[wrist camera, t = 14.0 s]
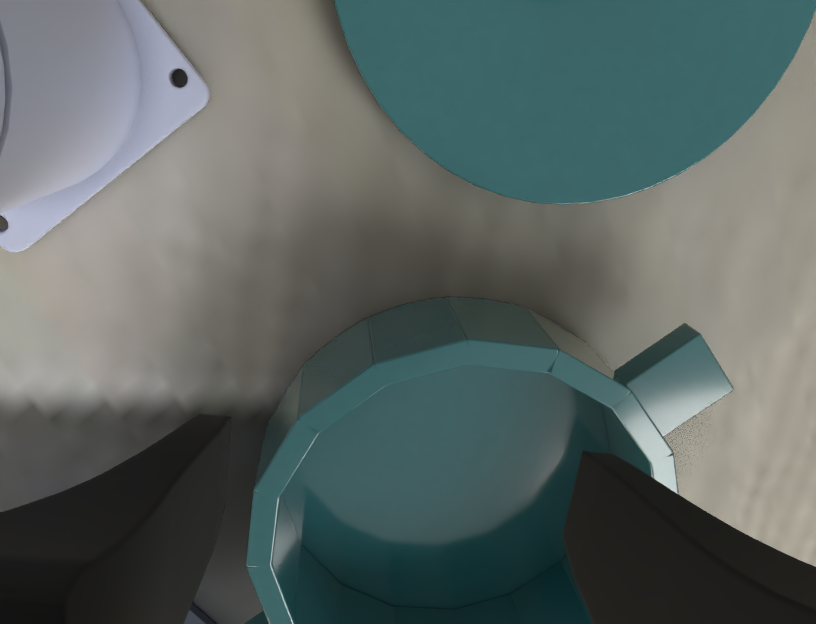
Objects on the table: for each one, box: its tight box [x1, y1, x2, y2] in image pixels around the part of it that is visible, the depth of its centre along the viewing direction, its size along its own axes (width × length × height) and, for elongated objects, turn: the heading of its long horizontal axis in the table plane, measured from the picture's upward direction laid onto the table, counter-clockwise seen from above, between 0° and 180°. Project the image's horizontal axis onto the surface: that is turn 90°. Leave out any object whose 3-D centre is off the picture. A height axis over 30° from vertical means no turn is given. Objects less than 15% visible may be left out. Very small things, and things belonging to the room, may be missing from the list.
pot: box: [244, 297, 734, 624], centre depth 23 cm, size 14×19×4 cm
